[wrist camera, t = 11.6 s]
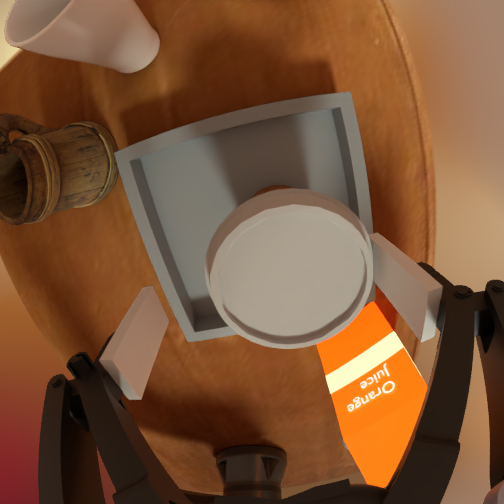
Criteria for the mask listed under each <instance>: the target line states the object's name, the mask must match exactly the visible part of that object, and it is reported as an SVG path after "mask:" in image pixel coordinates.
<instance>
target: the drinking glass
mask: <svg viewBox="0 0 504 504" xmlns="http://www.w3.org/2000/svg"><path fill="white" fill-rule="evenodd" d="M5 38H6V41H7V42H8V44H10V45H11V46H13V47H17V48H20V49H23V50H27V51H30V52H34V53H37V54H41V55H45V56H50V57H54V58H60V59H66V60H72V61H78V62H83V63H88V64H93V65H98V66H102V67H106V68H110V69H113V70H115V71H118V72H121V73H133V72H137V71H139V70H141V69H143V68H145V67H146V66H147V65H149V64H150V63H151V62H152V61H153V59H154V58H155V57H156V55H157V53H158V51H159V47H160V39H159V36H158V34H157V32H156V31H155V30H154V29H153V28H152V27H151V25H150V24H149V22H148V21H147V19H146V18H145V16H144V15H143V13H142V11H141V10H140V8H139V7H138V5H137V4H136V2H135V1H134V0H15V2H14V3H13V5H12V7H11V9H10V11H9V14H8V17H7V20H6V24H5Z"/></svg>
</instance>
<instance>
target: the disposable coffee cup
mask: <svg viewBox="0 0 504 504" xmlns="http://www.w3.org/2000/svg"><path fill="white" fill-rule="evenodd" d="M373 265H374V263H373V249H372V245H371V241H370V238H369V235H368V233H367V231H366V229H365V227H364V225H363V224H362V222H361V221H360V220H359V218H358V217H357V216H356V214H355V213H354V212H352V211H351V210H350V209H349V208H348V207H347V206H346V205H344V204H343V203H341V202H340V201H338V200H336V199H334V198H333V197H331V196H329V195H326V194H322V193H319V192H315V191H312V190H309V189H295V188H293V187H290V186H286V185H272V186H268V187H266V188H263V189H261V190H260V191H258V192H257V193H256V194H255V195H254V196H253V197H252V198H251V199H250V200H248V201H246V202H244V203H243V204H241V205H240V206H239V207H237V208H236V209H234V210H233V211H232V212H231V213H230V214H229V215H228V216H227V217H226V219H225V220H224V221H223V222H222V223H221V224H220V225H219V227H218V228H217V230H216V232H215V233H214V235H213V237H212V239H211V241H210V243H209V247H208V250H207V254H206V258H205V278H206V284H207V287H208V291H209V294H210V296H211V298H212V300H213V302H214V305H215V307H216V309H217V311H218V313H219V315H220V316H221V317H222V319H223V320H224V321H225V323H226V324H227V325H228V326H230V327H231V328H232V329H233V330H234V331H235V332H236V333H237V334H239V335H241V336H242V337H244V338H246V339H248V340H250V341H252V342H254V343H257V344H260V345H263V346H266V347H273V348H280V349H294V348H302V347H307V346H311V345H314V344H318V343H320V342H322V341H325V340H327V339H329V338H331V337H333V336H335V335H336V334H338V333H339V332H341V331H342V330H343V329H345V328H346V327H347V326H348V325H349V324H350V323H351V322H352V321H353V320H354V319H355V318H356V317H357V316H358V314H359V313H360V311H361V310H362V309H363V307H364V305H365V303H366V301H367V298H368V296H369V293H370V290H371V287H372V282H373V274H374V273H373Z"/></svg>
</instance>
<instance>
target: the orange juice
mask: <svg viewBox="0 0 504 504" xmlns="http://www.w3.org/2000/svg"><path fill="white" fill-rule="evenodd" d="M317 347H318V351H319V354H320V358H321V361H322V364H323V368H324V371H325V375H326V380H327V383H328V387H329V390H330V394H331V396H332V399H333V403H334V407H335V410H336V414H337V418H338V421H339V425H340V429H341V433H342V436H343V440H344V442H345V443H346V445H347V447H348V449H349V451H350V452H351V454H352V456H353V458H354V460H355V462H356V464H357V465H358V467H359V469H360V471H361V473H362V474H363V476H364V478H365V480H366V482H367V484H369V485H375V486H379V487H382V488H383V487H385V486H387V485H388V483H389V481H390V479H391V478H392V476H393V474H394V472H395V470H396V468H397V466H398V464H399V462H400V460H401V458H402V456H403V454H404V451H405V449H406V447H407V444H408V442H409V440H410V437H411V435H412V432H413V429H414V427H415V424H416V421H417V419H418V416H419V413H420V410H421V407H422V404H423V401H424V398H425V394H426V391H427V388H428V387H427V386H426V384H425V382H424V380H423V379H422V377H421V374H420V373H419V371H418V369H417V367H416V366H415V364H414V362H413V361H412V359H411V357H410V356H409V354H408V352H407V351H406V349H405V348H404V346H403V344H402V343H401V341H400V340H399V338H398V336H397V335H396V333H395V332H394V331H393V329H392V328H391V326H390V325H389V323H388V322H387V320H386V319H385V317H384V316H383V314H382V313H381V311H380V310H379V308H378V307H377V305H376V304H375V302H374V301H373V302H371V303H369V304H368V305H367V306H365V307H364V308H363V309H362V310H361V311H360V313H359V314H358V316H357V317H356V318H355V319H354V320H353V321H352V322H351V323H350V324H349V325H348V326H347V327H346V328H345V329H343V330H342V331H341V332H339V333H338V334H336V335H335V336H333V337H331V338H329V339H327V340H325V341H322V342H320V343H318V344H317Z"/></svg>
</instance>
